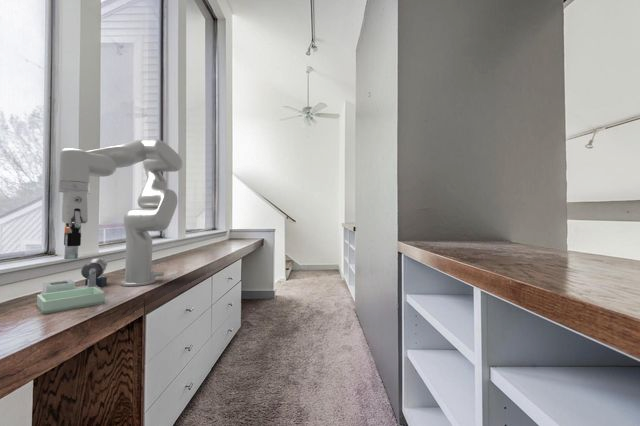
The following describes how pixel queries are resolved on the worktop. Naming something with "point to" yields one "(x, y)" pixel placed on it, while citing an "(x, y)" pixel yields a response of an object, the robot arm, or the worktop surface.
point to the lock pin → (70, 248)
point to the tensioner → (88, 271)
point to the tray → (69, 299)
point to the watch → (101, 280)
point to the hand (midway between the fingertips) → (72, 245)
